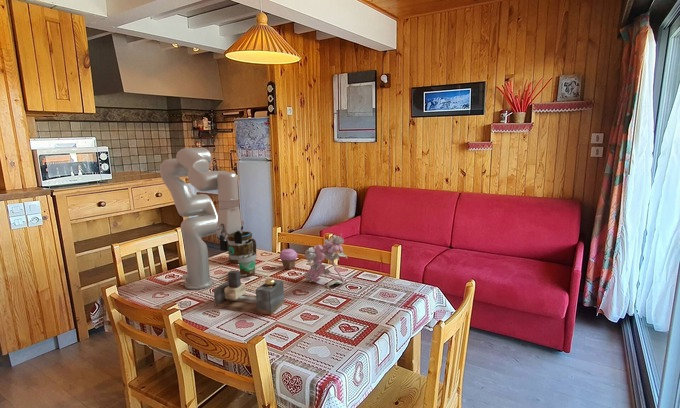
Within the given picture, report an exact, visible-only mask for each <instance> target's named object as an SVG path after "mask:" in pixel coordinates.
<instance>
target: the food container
mask: <svg viewBox="0 0 680 408" xmlns="http://www.w3.org/2000/svg"><path fill="white" fill-rule="evenodd" d="M256 260H257V253H256V254H255V253H254V252H248V254H247V255H245V256H243V257H242V258H238V263H239V265H238V266H239V271H240V279H246V278H250V277H254V276H255V275H256Z"/></svg>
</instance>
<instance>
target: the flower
mask: <svg viewBox="0 0 680 408" xmlns="http://www.w3.org/2000/svg"><path fill="white" fill-rule="evenodd" d="M342 234H343V233H340V236H339V235H336V234H334V235H332V236H331V237H330V238H328V239H326V238H325V239H324V244H323V245H321V244H317V245H314V247H313V246H312V247H309V248H308V249H305V254H302V256H303V257H305V261H306V262H307V263H311V264H310V265H309V266H310V268H309V269H308V272H305V273H304V274H303V276H304V277H305V278H304V280H305V281H308V282H309V283H311V282H312V281H313V282H319V281H320V280H321V277H319V276H320V275H321V276H322V275H324V276H325V277H326V276H329V277H332V278H334V279H337V280H335V281H334V280H333V281H329V282H327V285H326V286H327V289H328V290H329V289H330V286H332V285H335V284H344V283H345V284H348V281H345V280H344V277H343V276H342V274H341V273H340V271H339V268H338V267H337V265H336V263H335V262H334V261H335V260H338V261H340V258H339V257H342V258H346V259H348V257H347V255H346V253H344V250H343V249H344V248H343V246H342V245H343V244H344V242H345V239H344V237H342ZM324 260H327V261H330V262H331V264H332V265H333V267H334V269H335V271H336V273H337V274H338V276H337V275H335V274H332V271H330V269H328V268H327V266H328V264H323V261H324Z"/></svg>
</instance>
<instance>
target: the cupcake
mask: <svg viewBox="0 0 680 408" xmlns="http://www.w3.org/2000/svg"><path fill="white" fill-rule="evenodd" d="M297 258H298V253H297V252H296V250H294V249H293V248H286V249H282V250H281V251H280V254H279V259H280V260H281V263H282V265H283V268H284V269H287V270H291V269H293V268H295V267H296V259H297Z"/></svg>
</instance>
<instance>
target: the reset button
mask: <svg viewBox="0 0 680 408" xmlns="http://www.w3.org/2000/svg"><path fill="white" fill-rule="evenodd" d="M274 280H275V279H274V278H267V279H265V280H264V283H265V285H266V286H267V287H273V285H274V284H275V282H274Z"/></svg>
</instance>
